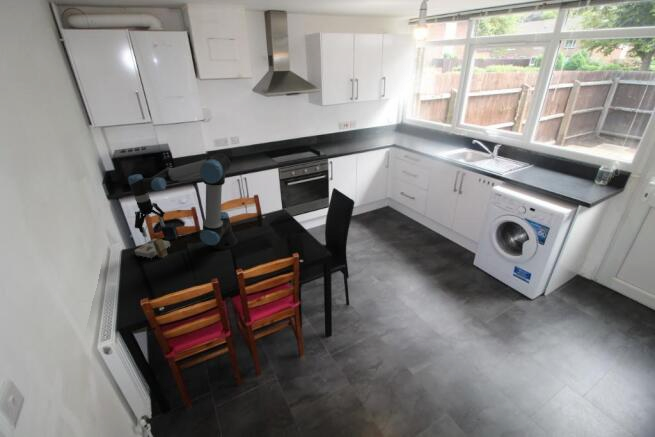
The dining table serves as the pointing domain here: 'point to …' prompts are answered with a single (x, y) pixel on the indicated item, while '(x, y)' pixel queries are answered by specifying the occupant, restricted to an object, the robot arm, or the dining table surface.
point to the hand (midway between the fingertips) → (154, 231)
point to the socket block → (149, 249)
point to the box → (169, 231)
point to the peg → (160, 248)
